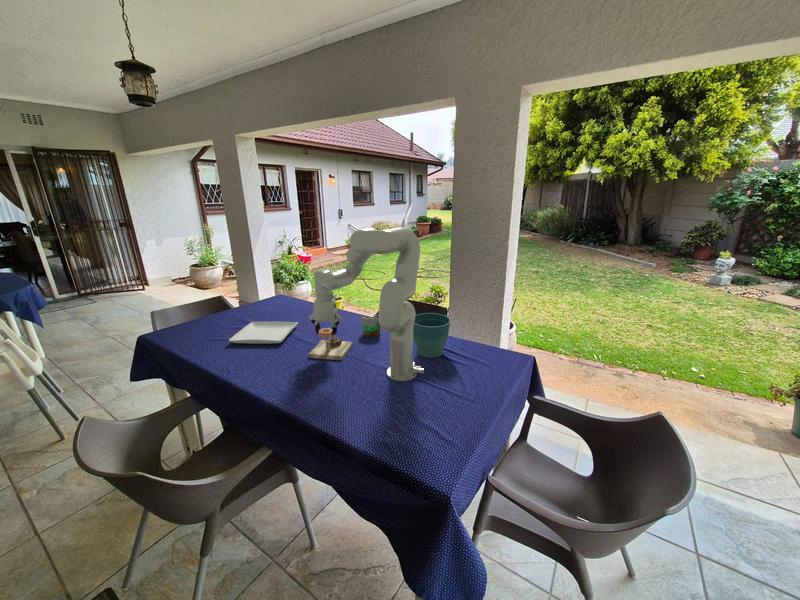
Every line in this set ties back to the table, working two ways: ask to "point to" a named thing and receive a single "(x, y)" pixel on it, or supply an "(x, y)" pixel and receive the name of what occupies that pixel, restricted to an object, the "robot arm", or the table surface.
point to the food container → (370, 326)
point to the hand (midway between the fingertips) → (326, 333)
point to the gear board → (331, 349)
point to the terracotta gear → (325, 333)
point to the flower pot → (431, 333)
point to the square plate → (264, 332)
